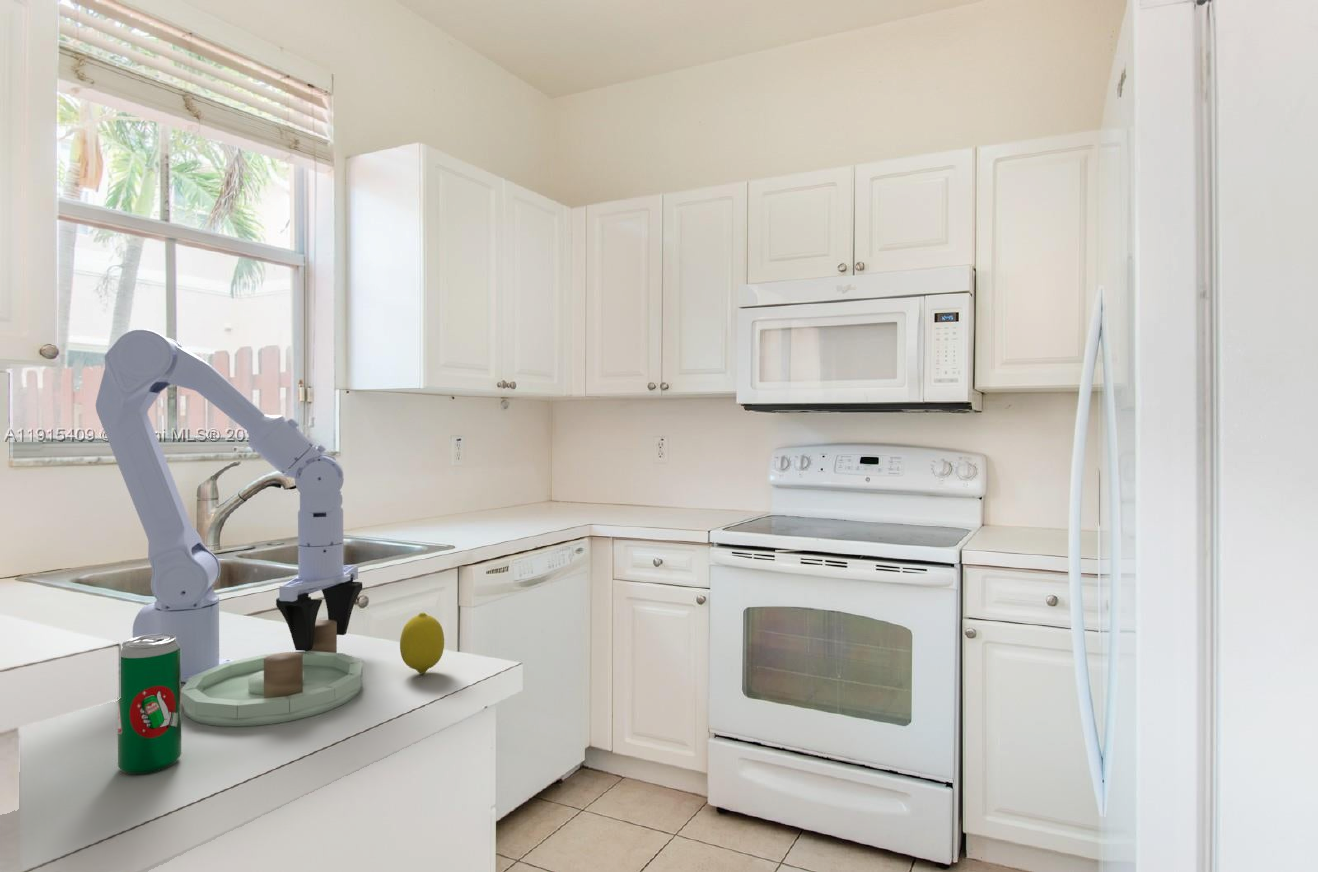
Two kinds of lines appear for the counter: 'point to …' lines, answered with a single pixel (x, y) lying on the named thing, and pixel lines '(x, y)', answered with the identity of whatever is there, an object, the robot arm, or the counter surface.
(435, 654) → the lemon
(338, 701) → the tray
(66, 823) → the counter surface
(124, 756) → the soda can
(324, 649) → the bead
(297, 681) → the bead
